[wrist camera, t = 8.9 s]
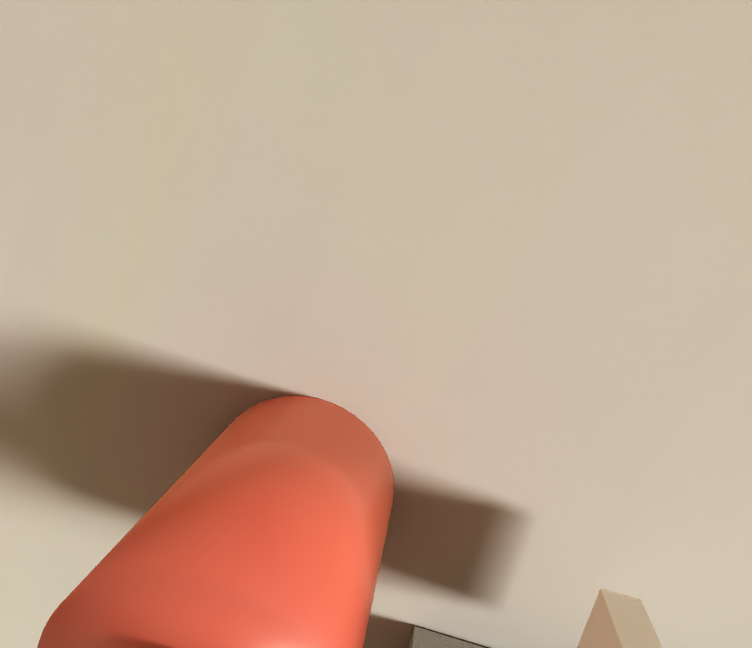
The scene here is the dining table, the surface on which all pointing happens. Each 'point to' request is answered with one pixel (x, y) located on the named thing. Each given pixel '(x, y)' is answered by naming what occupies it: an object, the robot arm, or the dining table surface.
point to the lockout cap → (249, 543)
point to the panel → (436, 640)
